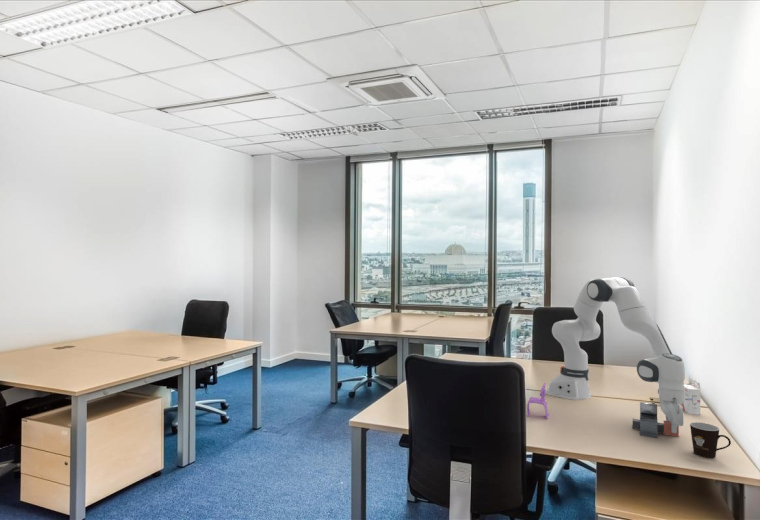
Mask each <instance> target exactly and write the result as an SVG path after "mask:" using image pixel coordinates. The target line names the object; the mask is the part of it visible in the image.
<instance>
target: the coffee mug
mask: <svg viewBox="0 0 760 520" xmlns="http://www.w3.org/2000/svg"><path fill="white" fill-rule="evenodd" d="M689 427H690V433H691V434H690V435H691V444H692V451H693V454H694V455H696V456H698V457H700V458H701V457H702V458H706V459H715V458H716V456H717V451H720V450H724V449H726V448H729V447H731V446H730V445H732V444H731V443H732V442H731V438H730V437H728V436H726V435H724V434H719V433H720V428H719V427H718V426H717V425H713V424H710V423H706V422H697V421H696V422H695V421H693V422H690V423H689ZM722 437H723V438H725V439H726V440H727V441H728V444H727V445H725V446H723V447H718V440H719V439H720V438H722ZM717 447H718V448H717Z"/></svg>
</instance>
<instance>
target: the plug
mask: <svg viewBox="0 0 760 520" xmlns="http://www.w3.org/2000/svg"><path fill="white" fill-rule="evenodd" d="M679 427H680V426H678V427H677V433H672V432H671V422H670V421H666V420H663V422H658V421H657V434H663V435H666V436H671V437H672V436H673V437H679V434H680V433H679V431H680V429H679ZM632 429H634V430H639V431H640V418H639V419H637V418H632Z"/></svg>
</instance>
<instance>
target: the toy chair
mask: <svg viewBox="0 0 760 520" xmlns="http://www.w3.org/2000/svg"><path fill="white" fill-rule="evenodd" d="M545 387H546V383H545V382H544V383H543V384H542V386H541V389H540V392H539V396H540V397H533V396H529V399H528V402H527V404H526V414H527V417H530V415H531V411H530V404H537V405H538V404H539V405H542V406H543V408H544V410H545V411H544V412H545V417H546V420H548V419H549V416H550V415H549V412H548V411H549V410H548V406H547V405H548V404H547V401H546V394H545V392H546V388H545Z"/></svg>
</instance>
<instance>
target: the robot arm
mask: <svg viewBox="0 0 760 520" xmlns="http://www.w3.org/2000/svg"><path fill="white" fill-rule="evenodd" d="M604 302H606V303H607V302H608V303H609V302H613V303H614V304H615V305H616V308H617V312H618V315H619V318H620V322H622V324H623V326H624V328H626V329H628V330H629V331H631V332H635V333H637V334H640V335H642V336H643V337H645V338H646V339H647V340H648V342H649V344H650V347H651V348H652V350H653V352H654V355H655V357H649V358H644V359H641V360H639V361H638V362H637V365H636V373H637V376H638V377H639V378H640V379H641V381H644V382H648V383H657V384H658V389H657V393H658V399H659V406H660V407H659V408H660V411H662V413H663V414H664V416H665V421H670V422H671V432H672V433H677V427H678V426H679V427H683V426H684V410H683V408H682V406H681V402H684V401H685V388H684V383H685V379H686V373H685V370H686V369H685V363H684V360H683V359H682V357H681V356H679V355H676V354H673V352H672V351H671V349H670V347H669V345H668V343H667V341H666V338H665V336H664V334H663V333H662V332H663V331H662V330H661V328H660V327H659V325H658V324H657V323H656V321H654V320H653V318H652V317H651V315H650V313H649V311H648V308H647V306H646V303H645V301H644V299H643V297H642V295H641V293H640V292H639V290H638V289H637V288H636V286H635V284H634V281H632V280H631V279H629V278H626V277H605V278H595V279H590V280H588V281H586V283H585V284H584V286H583V287H582V289H581V291H580V292H579V294H578V297H577V299H576V302H575V304H574V306H573V311H574V313H575V315H576V316H577V318H576V319H563V320H559V321H556V322H554V323H553V325H552V327H551V334H552V336H553V338H554V339H555V340H556V341H557V342H558V343H559V344H560V345H561V347H562V350H563V355H564V356H563V360H564V365H561V366H560V367H559V368H560V373H559V374H558V375H556V376H555V377H553V378H551V379H550V381H549V384H548V387H546V388H545V389H546V392H545V395H547V396H548V395H549V396H553V397H556V398H557V397H558V398H562V399H568V400H571V401H578V400H588V399H591V398H592V394H591V391H590V386H589V379H590V371H589V363H588V362H589V361H588V360H589V356H588V353H587V352H586V351H585V350H584V349H583V348H581V346H580V342H588V341H594V340H596V339H599V337H600V335H601V326H600V324H599V323H598V322H597V316H598V313H599V311H600V309H601V306H602V304H603V303H604Z"/></svg>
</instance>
